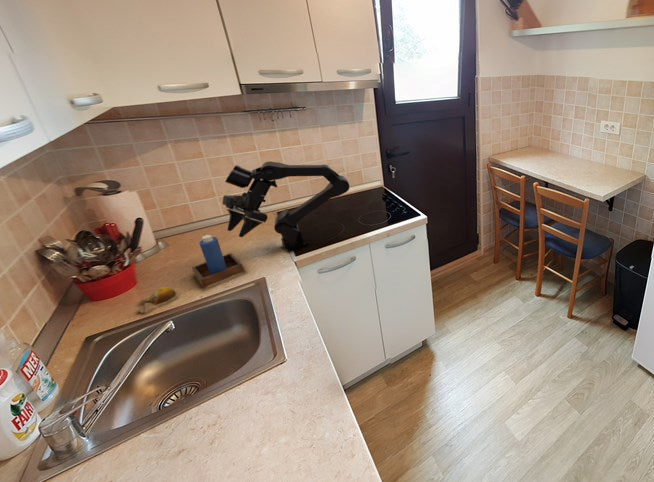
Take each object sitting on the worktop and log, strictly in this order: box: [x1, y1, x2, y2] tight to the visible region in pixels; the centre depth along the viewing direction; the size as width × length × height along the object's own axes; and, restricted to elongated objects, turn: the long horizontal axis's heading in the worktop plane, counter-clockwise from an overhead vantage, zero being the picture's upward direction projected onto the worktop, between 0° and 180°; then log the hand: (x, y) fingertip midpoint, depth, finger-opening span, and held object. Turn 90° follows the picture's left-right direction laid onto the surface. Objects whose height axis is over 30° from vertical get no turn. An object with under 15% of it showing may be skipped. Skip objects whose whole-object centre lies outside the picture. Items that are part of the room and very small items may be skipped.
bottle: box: [199, 234, 227, 275], centre depth 113 cm, size 5×5×15 cm
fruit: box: [139, 287, 176, 314], centre depth 103 cm, size 8×8×4 cm
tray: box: [191, 252, 245, 288], centre depth 115 cm, size 12×12×4 cm
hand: (234, 233), depth 117 cm, fingers open, 9 cm apart
